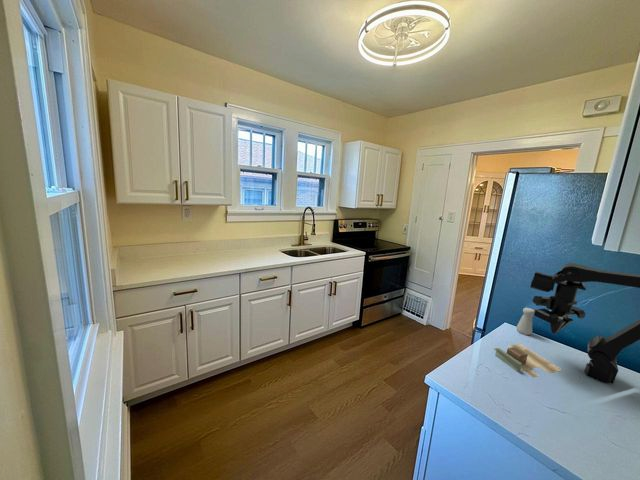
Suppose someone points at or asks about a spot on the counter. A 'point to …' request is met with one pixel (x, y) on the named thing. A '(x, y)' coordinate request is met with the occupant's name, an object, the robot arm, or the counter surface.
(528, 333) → the salt shaker
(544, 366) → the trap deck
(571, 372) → the counter surface
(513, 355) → the walnut block
